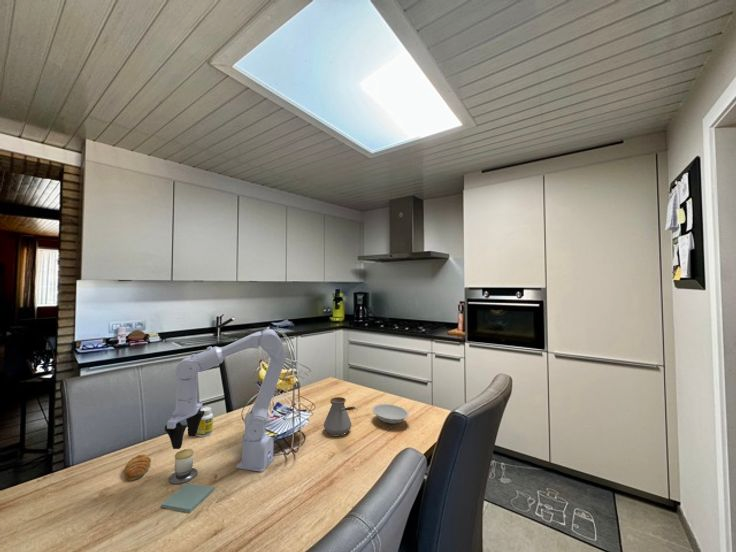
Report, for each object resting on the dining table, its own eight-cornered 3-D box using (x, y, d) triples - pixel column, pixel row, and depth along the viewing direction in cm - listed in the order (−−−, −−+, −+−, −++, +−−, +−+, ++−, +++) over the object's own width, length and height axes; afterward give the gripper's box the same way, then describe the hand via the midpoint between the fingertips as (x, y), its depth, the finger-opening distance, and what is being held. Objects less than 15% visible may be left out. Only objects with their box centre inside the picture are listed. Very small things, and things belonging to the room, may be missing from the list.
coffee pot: (319, 428, 126) (320, 392, 126) (344, 423, 131) (345, 388, 132) (340, 453, 107) (340, 410, 108) (368, 445, 113) (368, 405, 113)
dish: (416, 425, 130) (416, 413, 130) (391, 434, 121) (391, 422, 122) (389, 412, 144) (389, 401, 144) (365, 419, 135) (365, 408, 136)
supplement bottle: (205, 438, 116) (206, 412, 117) (193, 436, 118) (194, 411, 118) (215, 431, 122) (216, 407, 122) (203, 430, 123) (204, 405, 123)
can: (196, 464, 95) (197, 449, 95) (184, 473, 90) (185, 458, 90) (183, 462, 96) (183, 448, 96) (170, 471, 91) (171, 456, 91)
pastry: (148, 478, 92) (149, 465, 92) (120, 485, 88) (121, 472, 89) (151, 462, 100) (151, 451, 100) (125, 469, 96) (125, 457, 97)
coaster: (214, 490, 87) (214, 487, 87) (190, 512, 78) (190, 509, 78) (187, 485, 88) (187, 482, 88) (160, 507, 80) (160, 504, 80)
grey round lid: (203, 470, 96) (203, 462, 96) (184, 486, 88) (184, 477, 88) (182, 467, 97) (182, 459, 97) (162, 482, 90) (162, 473, 90)
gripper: (188, 389, 101) (186, 430, 101) (157, 406, 87) (155, 454, 86) (209, 389, 101) (207, 431, 100) (181, 406, 87) (179, 454, 86)
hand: (184, 441), depth 93 cm, fingers open, 7 cm apart
